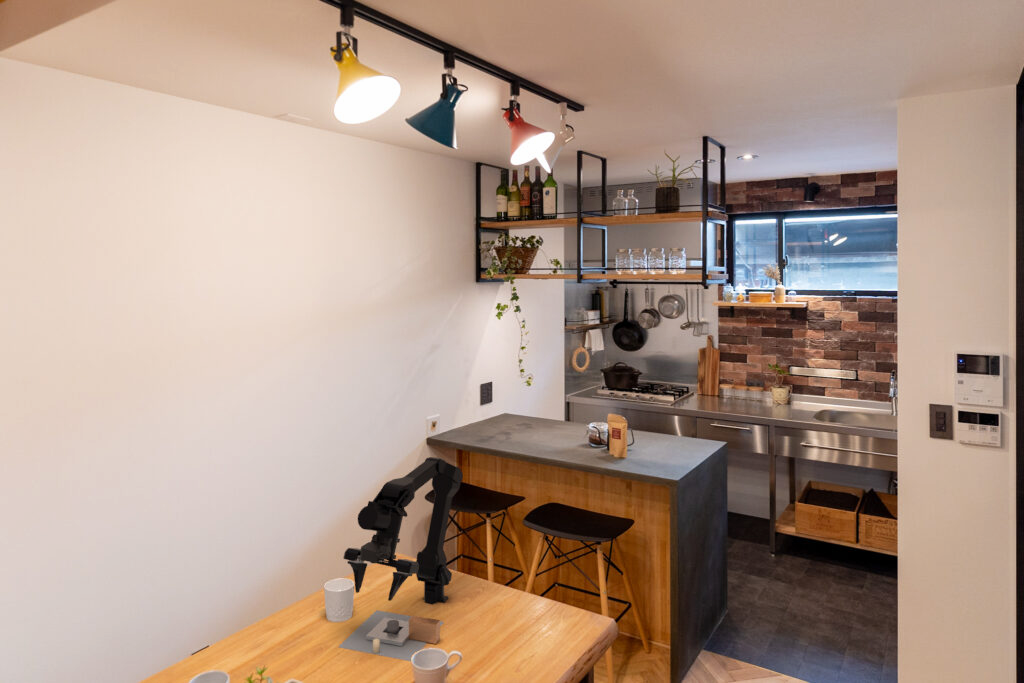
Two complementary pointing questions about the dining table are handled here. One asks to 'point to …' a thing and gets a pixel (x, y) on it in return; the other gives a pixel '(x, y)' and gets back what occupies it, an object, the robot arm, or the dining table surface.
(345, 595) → the white cup
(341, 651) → the dining table surface
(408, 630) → the flange plate
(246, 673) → the dining table surface
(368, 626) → the slate board
